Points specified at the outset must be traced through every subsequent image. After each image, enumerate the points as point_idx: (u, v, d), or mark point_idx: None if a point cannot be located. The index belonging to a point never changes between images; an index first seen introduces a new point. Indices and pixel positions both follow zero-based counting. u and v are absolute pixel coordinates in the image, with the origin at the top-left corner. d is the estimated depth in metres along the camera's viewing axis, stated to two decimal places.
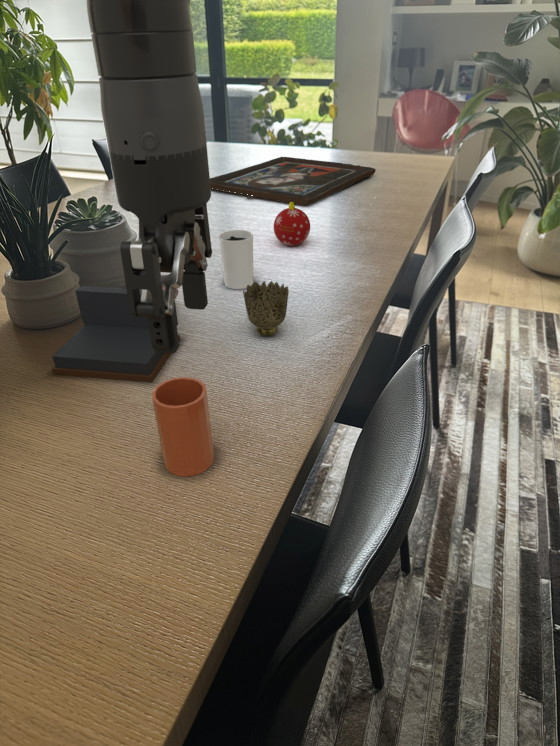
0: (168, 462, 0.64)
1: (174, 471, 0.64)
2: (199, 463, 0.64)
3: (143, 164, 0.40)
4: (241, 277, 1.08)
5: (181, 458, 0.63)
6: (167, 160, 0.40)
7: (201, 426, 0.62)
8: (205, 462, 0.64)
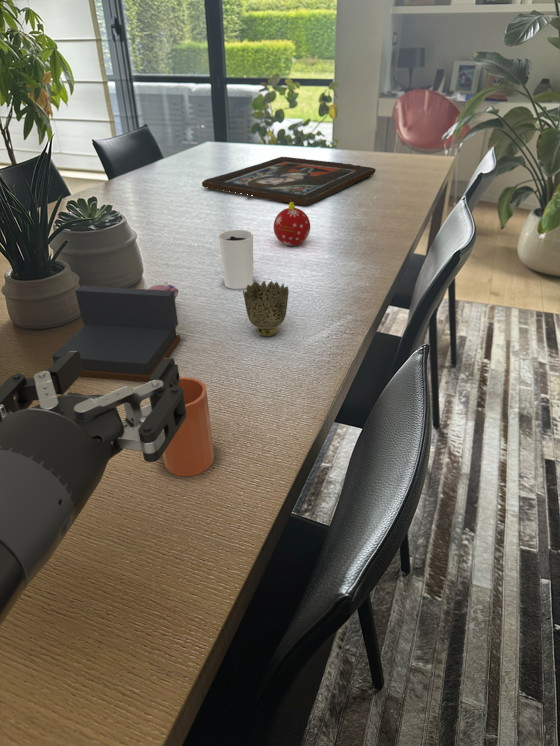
0: (168, 462, 0.64)
1: (174, 471, 0.64)
2: (199, 463, 0.64)
3: None
4: (241, 277, 1.08)
5: (181, 458, 0.63)
6: None
7: (201, 426, 0.62)
8: (205, 462, 0.64)
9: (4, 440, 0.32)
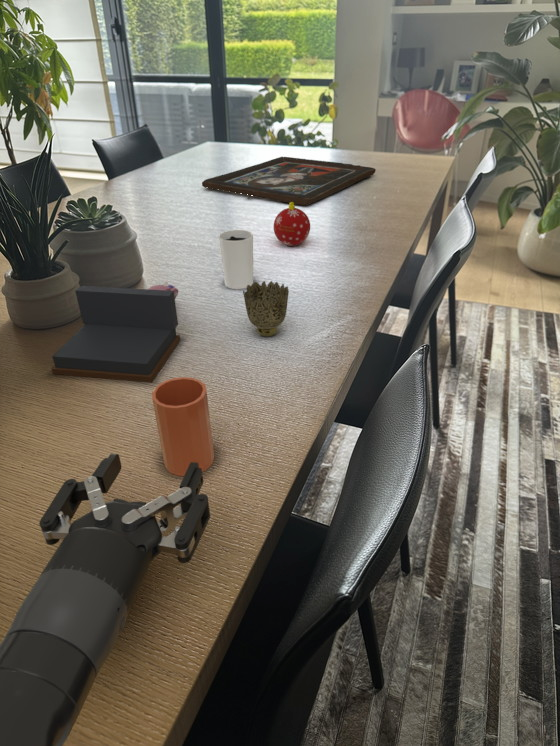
0: (168, 462, 0.64)
1: (174, 471, 0.64)
2: (199, 463, 0.64)
3: None
4: (241, 277, 1.08)
5: (181, 458, 0.63)
6: None
7: (201, 426, 0.62)
8: (205, 462, 0.64)
9: (74, 560, 0.42)
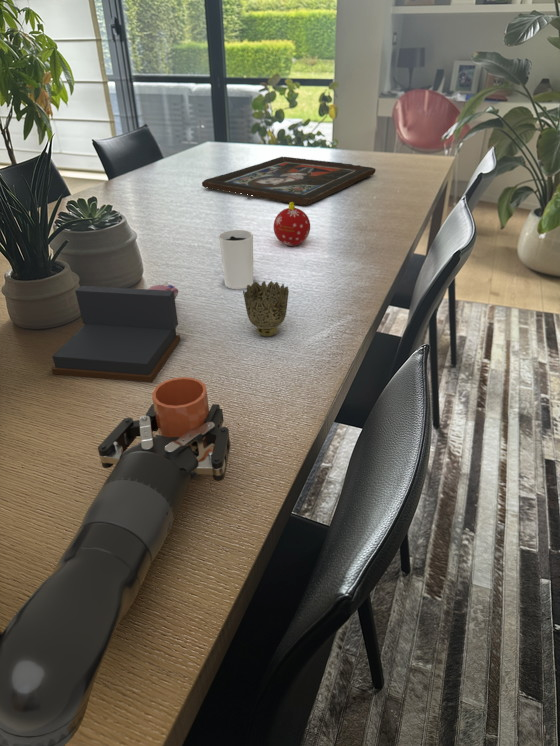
0: None
1: None
2: None
3: None
4: (241, 277, 1.08)
5: None
6: None
7: None
8: None
9: (130, 474, 0.51)
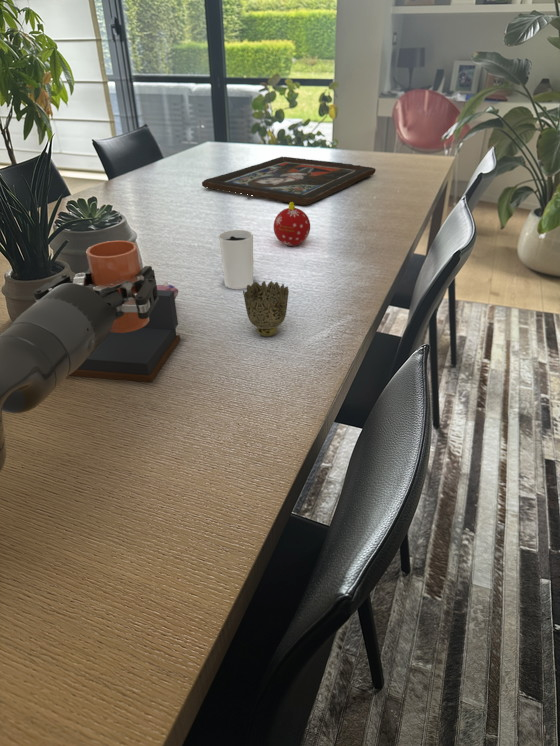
0: None
1: None
2: (133, 320, 0.69)
3: None
4: (241, 277, 1.08)
5: None
6: None
7: None
8: (139, 320, 0.70)
9: (55, 295, 0.56)
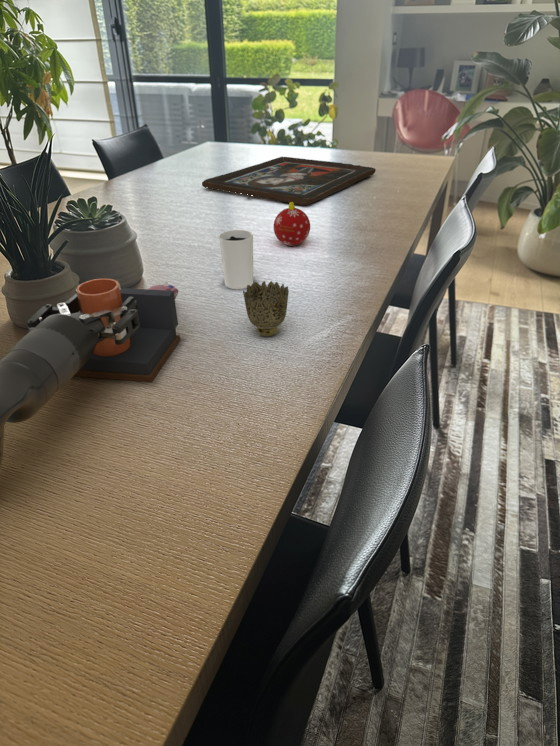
0: None
1: (96, 352, 0.82)
2: (116, 345, 0.82)
3: None
4: (241, 277, 1.08)
5: None
6: None
7: None
8: (121, 345, 0.82)
9: (46, 325, 0.68)
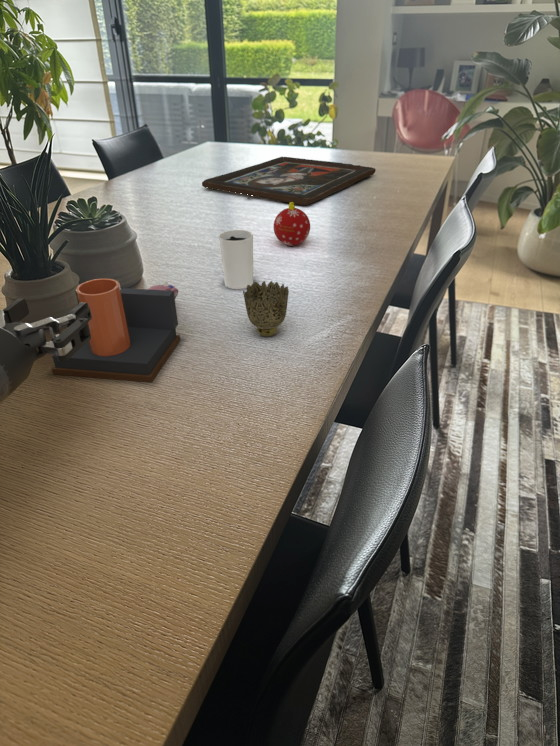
0: (91, 345, 0.82)
1: (96, 352, 0.82)
2: (116, 345, 0.82)
3: None
4: (241, 277, 1.08)
5: (100, 340, 0.81)
6: None
7: (115, 313, 0.80)
8: (121, 345, 0.82)
9: None
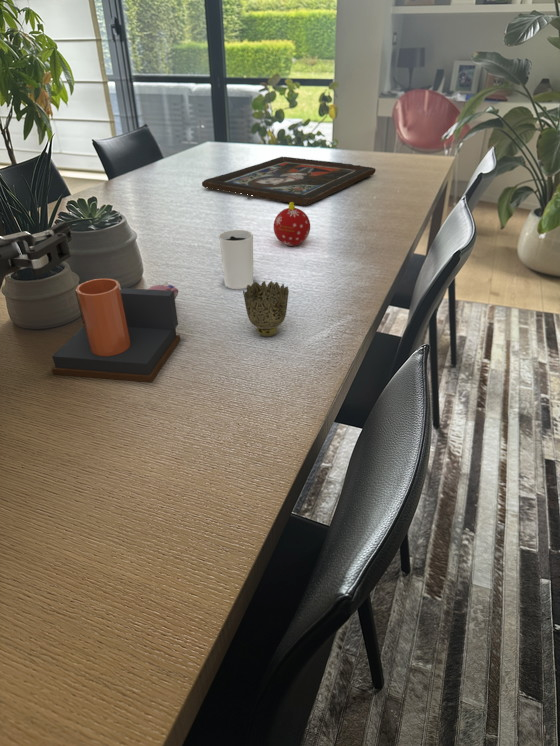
0: (91, 345, 0.82)
1: (96, 352, 0.82)
2: (116, 345, 0.82)
3: None
4: (241, 277, 1.08)
5: (100, 340, 0.81)
6: None
7: (115, 313, 0.80)
8: (121, 345, 0.82)
9: None
